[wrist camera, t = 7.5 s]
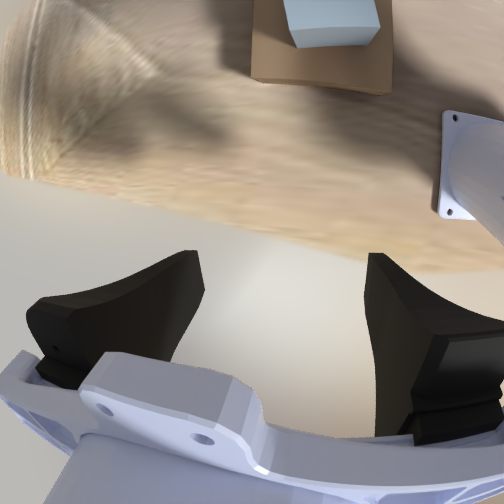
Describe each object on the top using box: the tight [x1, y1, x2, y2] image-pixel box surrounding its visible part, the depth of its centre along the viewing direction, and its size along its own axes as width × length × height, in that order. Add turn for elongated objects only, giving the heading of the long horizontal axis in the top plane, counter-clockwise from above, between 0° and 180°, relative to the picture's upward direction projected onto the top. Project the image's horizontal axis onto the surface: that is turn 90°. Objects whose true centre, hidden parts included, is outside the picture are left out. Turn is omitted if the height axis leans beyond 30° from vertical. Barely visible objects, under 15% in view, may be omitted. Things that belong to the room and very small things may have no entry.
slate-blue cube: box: [283, 0, 380, 49], centre depth 10 cm, size 4×4×4 cm
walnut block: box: [251, 0, 393, 96], centre depth 14 cm, size 8×8×4 cm
